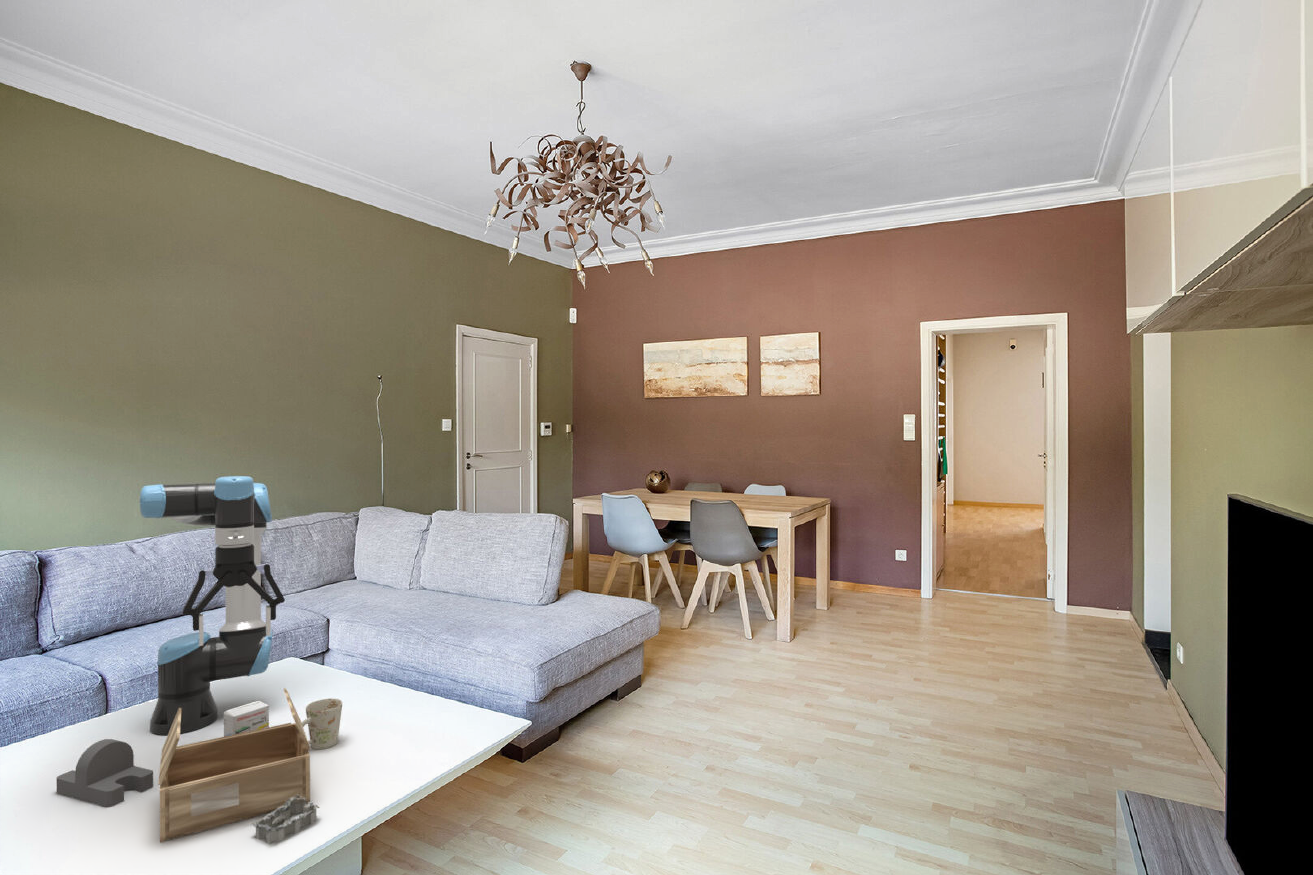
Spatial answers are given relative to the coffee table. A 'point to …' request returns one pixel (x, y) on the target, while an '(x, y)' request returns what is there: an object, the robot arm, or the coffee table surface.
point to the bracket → (105, 775)
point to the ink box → (246, 718)
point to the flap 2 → (297, 719)
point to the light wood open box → (232, 779)
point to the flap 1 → (170, 746)
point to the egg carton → (285, 819)
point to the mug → (323, 722)
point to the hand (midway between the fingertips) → (235, 639)
